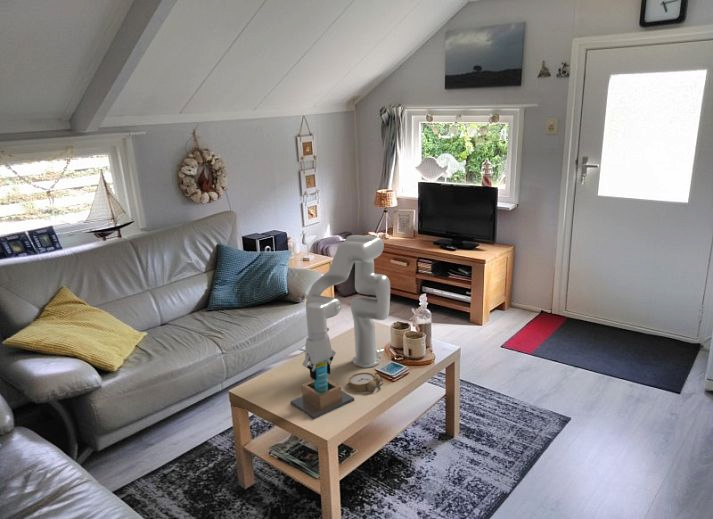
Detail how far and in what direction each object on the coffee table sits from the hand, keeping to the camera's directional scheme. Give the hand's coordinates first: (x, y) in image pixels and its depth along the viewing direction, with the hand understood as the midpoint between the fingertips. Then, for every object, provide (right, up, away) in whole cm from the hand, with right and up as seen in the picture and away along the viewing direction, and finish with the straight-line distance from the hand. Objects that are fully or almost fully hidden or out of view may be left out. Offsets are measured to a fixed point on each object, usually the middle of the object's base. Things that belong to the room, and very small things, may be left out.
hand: (320, 375), depth 219 cm
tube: (0, -8, +2) cm, 9 cm away
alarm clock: (+18, -8, +14) cm, 25 cm away
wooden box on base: (+1, -11, +3) cm, 12 cm away
